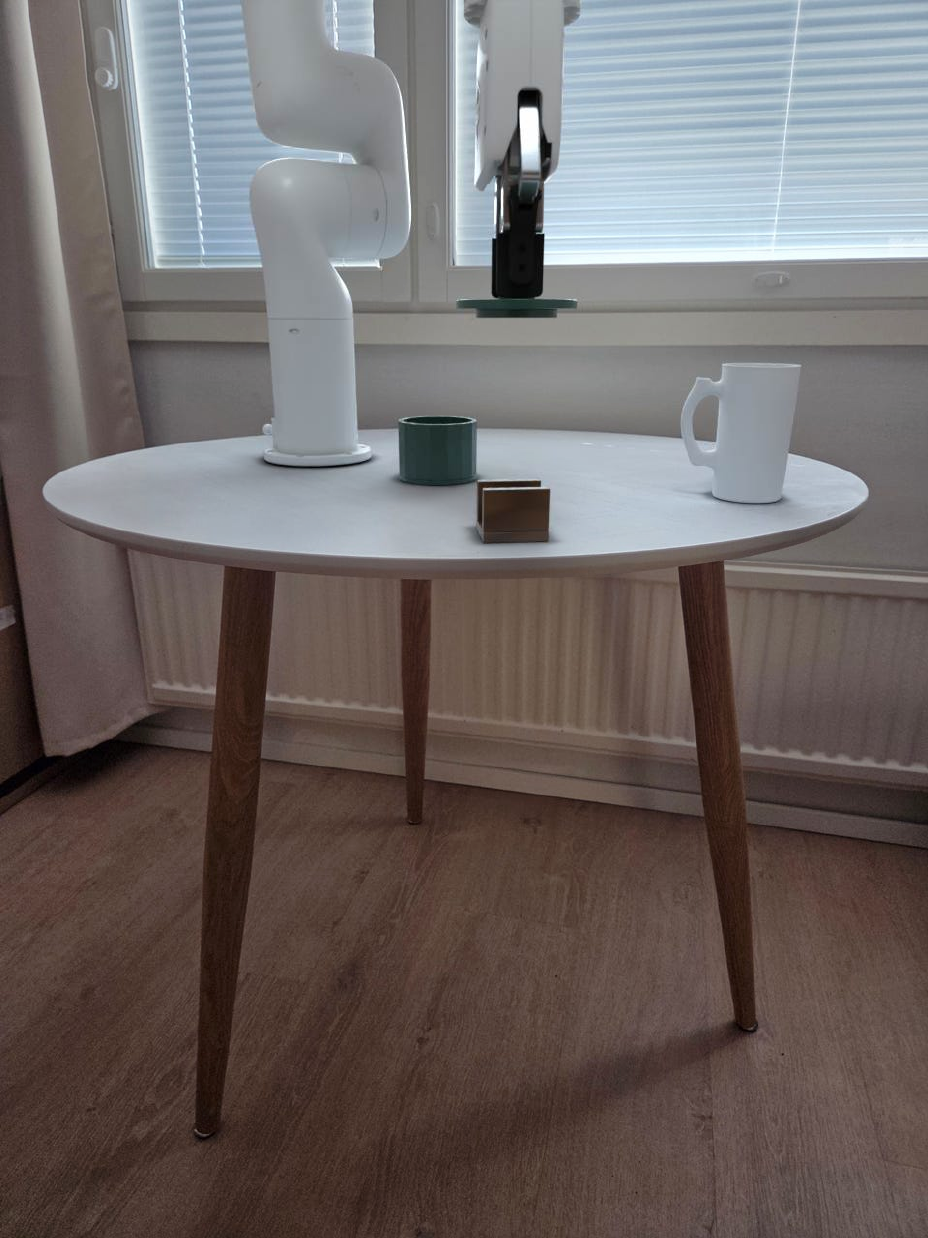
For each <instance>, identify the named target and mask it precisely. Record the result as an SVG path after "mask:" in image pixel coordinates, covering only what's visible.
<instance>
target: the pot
mask: <svg viewBox="0 0 928 1238" xmlns="http://www.w3.org/2000/svg"><path fill="white" fill-rule="evenodd" d="M477 421H478V420H477V419H476V418H473V417H469V416H457V415H416V416H407V417H402V418H398V421H397V422H398V426H397V427H398V460H399V461H398V465H399V467H398V469H399V479H400V481H402V482H404V483H407V484H412V485H413V484H414V485H420V486H453V485H462V484H467V483H470V482H474V481H476V479H477V453H478V452H477V449H478V447H477V445H478V444H477V443H478V439H477V437H478V436H477V435H478V422H477Z"/></svg>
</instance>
